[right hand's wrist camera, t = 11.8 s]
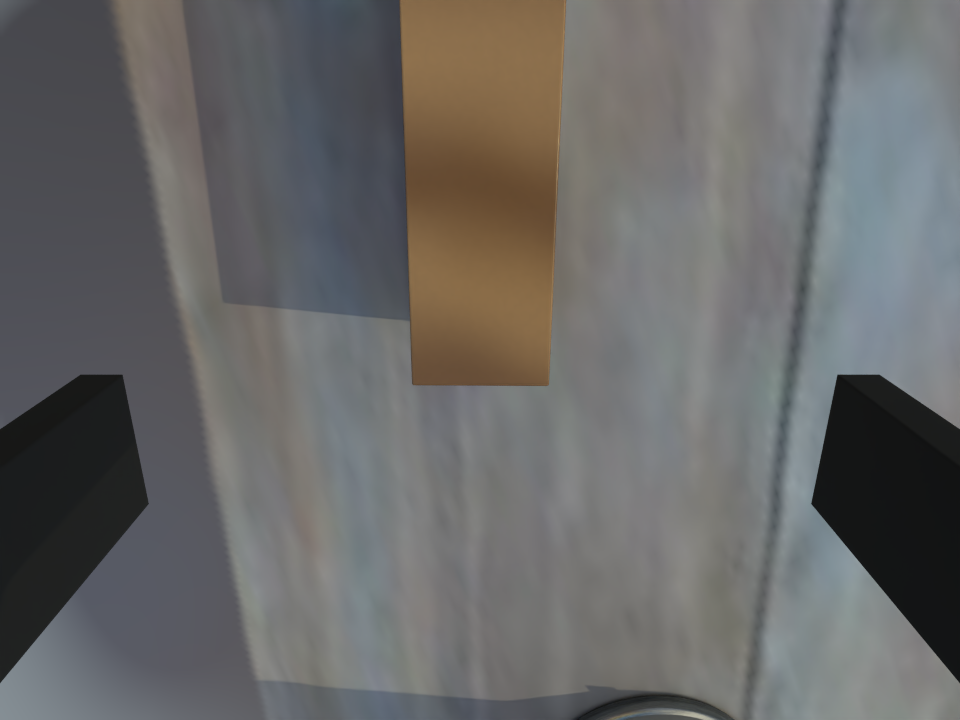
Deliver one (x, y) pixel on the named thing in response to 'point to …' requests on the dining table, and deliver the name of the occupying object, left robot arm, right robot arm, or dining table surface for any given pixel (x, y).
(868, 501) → the right robot arm
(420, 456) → the dining table surface
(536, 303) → the beam
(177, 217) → the dining table surface
